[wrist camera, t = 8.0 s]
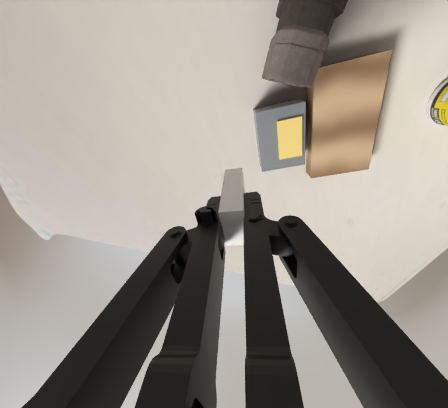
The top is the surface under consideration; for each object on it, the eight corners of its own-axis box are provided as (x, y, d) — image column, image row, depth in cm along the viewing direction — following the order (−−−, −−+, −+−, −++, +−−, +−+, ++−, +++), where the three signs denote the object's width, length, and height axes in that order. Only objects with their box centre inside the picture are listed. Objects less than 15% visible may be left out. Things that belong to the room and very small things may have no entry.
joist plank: (307, 70, 24) (314, 69, 22) (378, 52, 22) (392, 49, 20) (306, 171, 31) (311, 178, 29) (359, 163, 30) (368, 169, 28)
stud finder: (253, 109, 27) (255, 113, 23) (296, 99, 26) (306, 101, 22) (259, 162, 31) (262, 172, 27) (297, 155, 30) (305, 165, 26)
